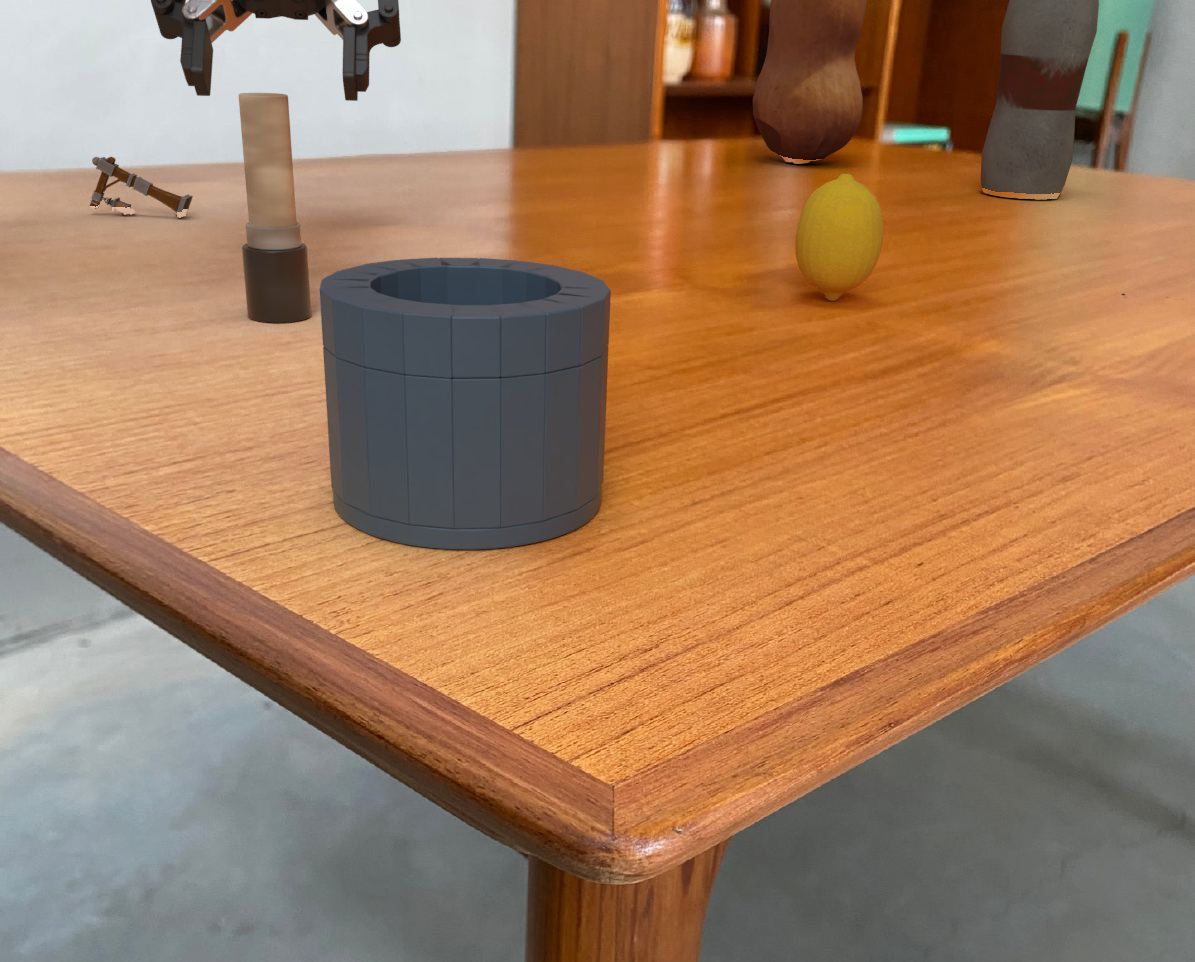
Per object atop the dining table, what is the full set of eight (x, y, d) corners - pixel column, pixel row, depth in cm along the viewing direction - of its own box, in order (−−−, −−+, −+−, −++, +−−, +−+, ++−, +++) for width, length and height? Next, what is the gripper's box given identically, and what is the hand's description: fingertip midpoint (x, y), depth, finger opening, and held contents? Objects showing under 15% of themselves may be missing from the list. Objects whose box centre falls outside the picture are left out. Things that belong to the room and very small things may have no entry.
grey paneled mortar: (291, 535, 43) (274, 303, 40) (382, 446, 52) (374, 250, 49) (576, 562, 42) (583, 325, 38) (618, 466, 51) (627, 267, 47)
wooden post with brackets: (84, 200, 103) (99, 148, 101) (177, 243, 104) (193, 193, 103) (75, 203, 101) (91, 150, 100) (170, 247, 103) (187, 196, 101)
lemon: (866, 293, 84) (882, 170, 81) (880, 311, 79) (898, 180, 76) (785, 290, 84) (797, 166, 81) (793, 308, 79) (807, 176, 76)
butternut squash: (877, 167, 155) (906, -58, 144) (795, 171, 149) (818, -65, 138) (804, 155, 166) (826, -56, 155) (724, 158, 159) (741, -63, 148)
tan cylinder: (237, 320, 71) (217, 94, 66) (262, 307, 74) (245, 90, 69) (297, 324, 71) (282, 98, 65) (320, 311, 74) (307, 94, 69)
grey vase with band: (973, 196, 133) (1025, -127, 120) (977, 187, 141) (1026, -118, 128) (1065, 204, 130) (1128, -126, 117) (1064, 193, 138) (1123, -117, 125)
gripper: (153, -183, 73) (133, 35, 68) (397, -170, 75) (396, 44, 70) (180, -76, 80) (164, 129, 75) (403, -66, 82) (402, 136, 77)
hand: (276, 88), depth 72 cm, fingers open, 8 cm apart
